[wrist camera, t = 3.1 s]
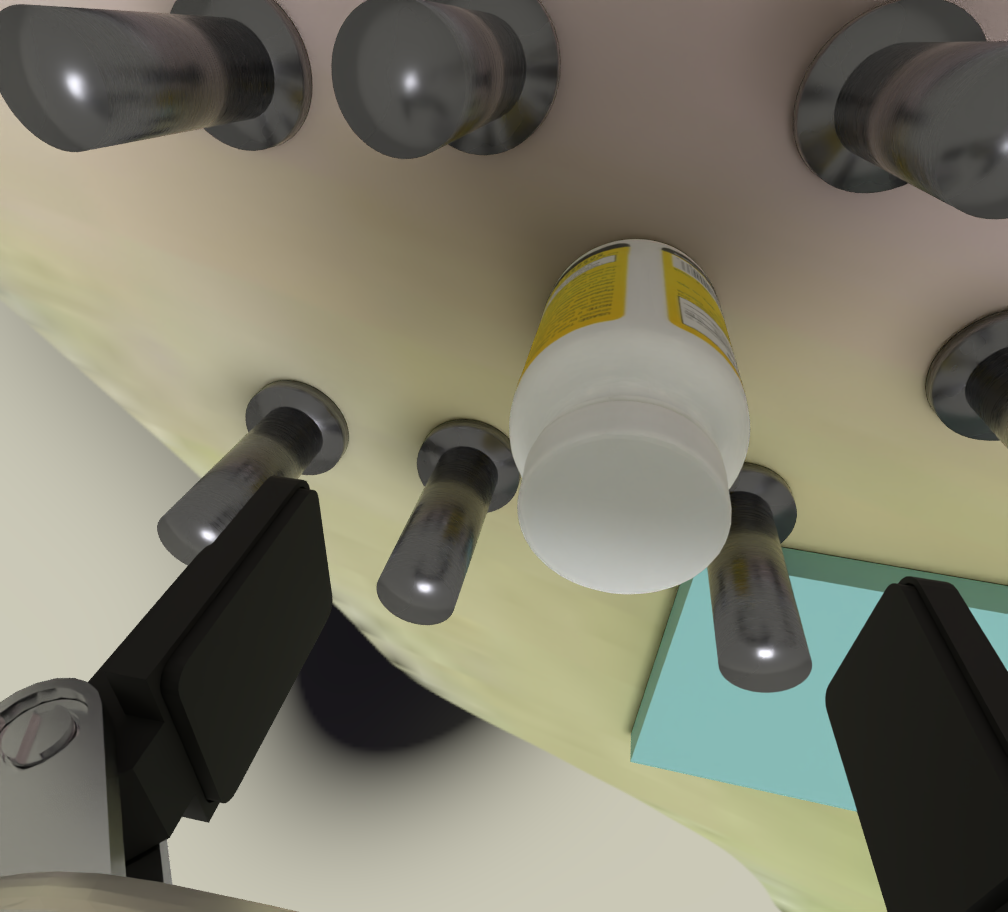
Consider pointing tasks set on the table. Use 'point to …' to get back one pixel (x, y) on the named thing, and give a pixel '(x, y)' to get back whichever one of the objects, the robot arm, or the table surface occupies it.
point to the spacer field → (491, 130)
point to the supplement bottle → (629, 422)
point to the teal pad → (779, 715)
